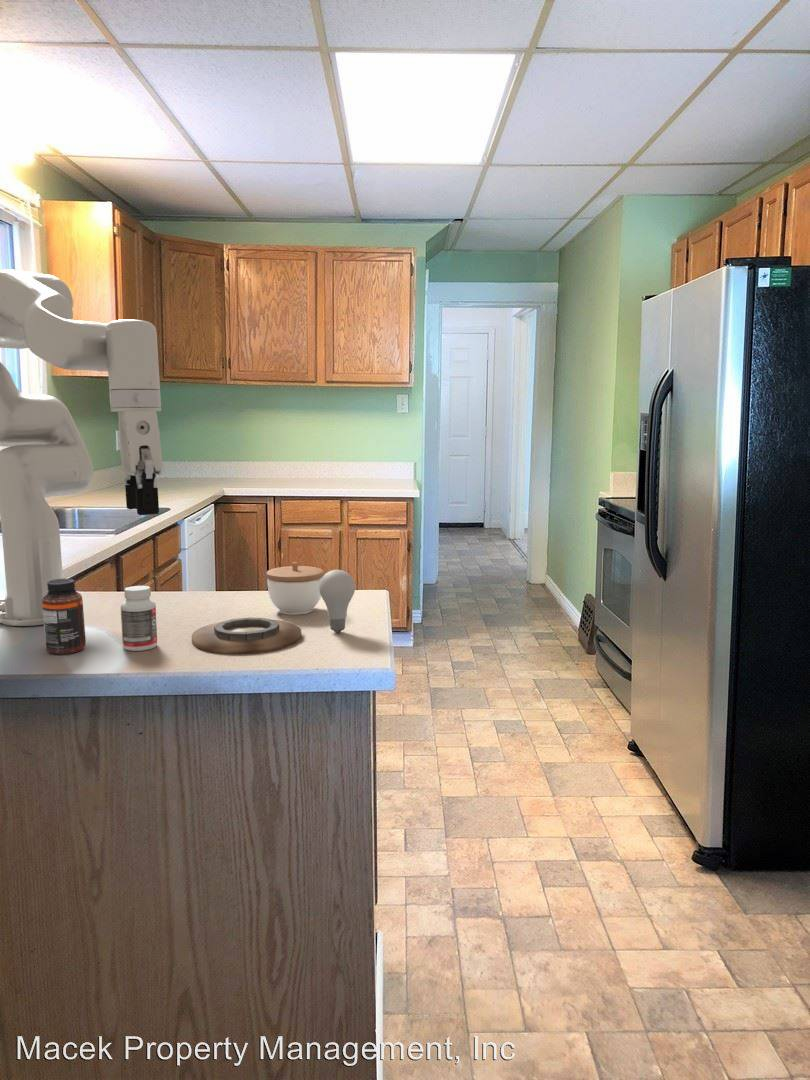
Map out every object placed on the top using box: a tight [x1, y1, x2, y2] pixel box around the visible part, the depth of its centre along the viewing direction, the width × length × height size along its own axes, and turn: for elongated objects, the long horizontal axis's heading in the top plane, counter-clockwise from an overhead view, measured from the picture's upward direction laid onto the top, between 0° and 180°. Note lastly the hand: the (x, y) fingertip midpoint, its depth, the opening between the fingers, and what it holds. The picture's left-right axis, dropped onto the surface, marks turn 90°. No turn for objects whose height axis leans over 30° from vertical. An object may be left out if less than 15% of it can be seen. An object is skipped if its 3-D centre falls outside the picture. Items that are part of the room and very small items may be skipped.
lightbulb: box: [319, 569, 356, 634], centre depth 141 cm, size 6×6×11 cm
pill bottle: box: [120, 585, 158, 652], centre depth 133 cm, size 5×5×10 cm
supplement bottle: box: [42, 578, 87, 656], centre depth 131 cm, size 6×6×11 cm
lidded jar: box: [266, 561, 325, 616], centre depth 157 cm, size 11×11×9 cm
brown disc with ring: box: [191, 617, 302, 655], centre depth 139 cm, size 18×18×2 cm
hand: (142, 511), depth 131 cm, fingers open, 9 cm apart
